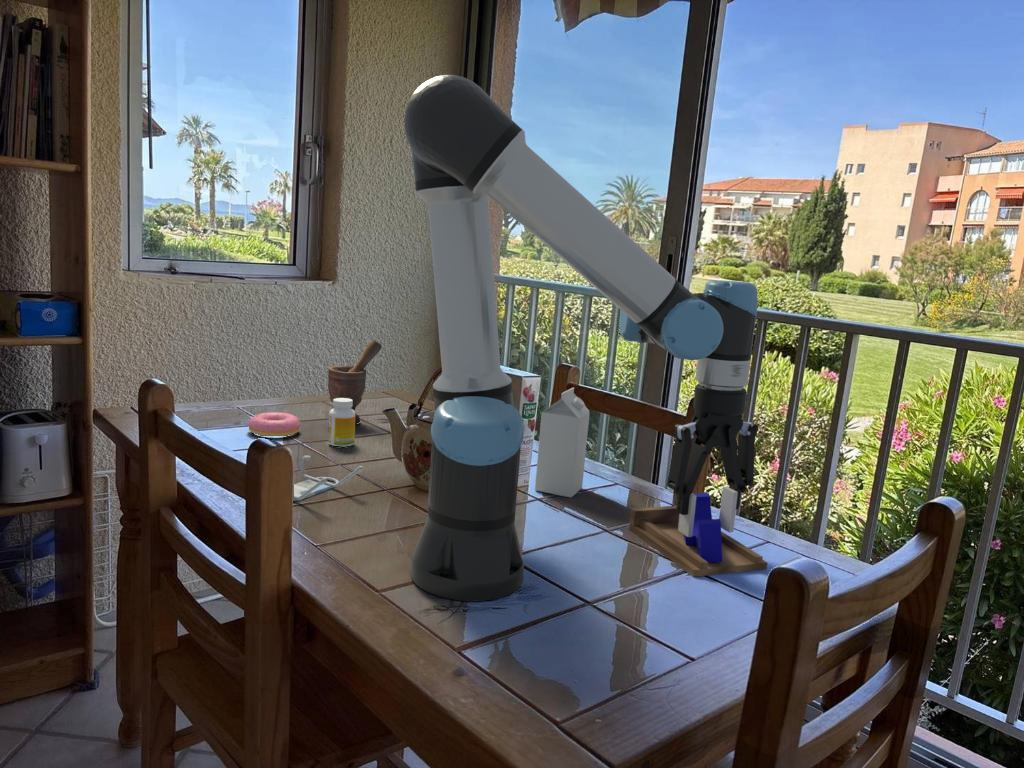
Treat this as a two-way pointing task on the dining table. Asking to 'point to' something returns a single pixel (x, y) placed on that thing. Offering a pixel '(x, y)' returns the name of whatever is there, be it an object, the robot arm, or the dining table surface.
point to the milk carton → (562, 446)
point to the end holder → (664, 536)
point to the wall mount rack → (316, 483)
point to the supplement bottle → (342, 423)
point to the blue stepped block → (706, 531)
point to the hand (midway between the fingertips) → (705, 531)
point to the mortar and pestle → (351, 378)
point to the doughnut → (274, 424)
